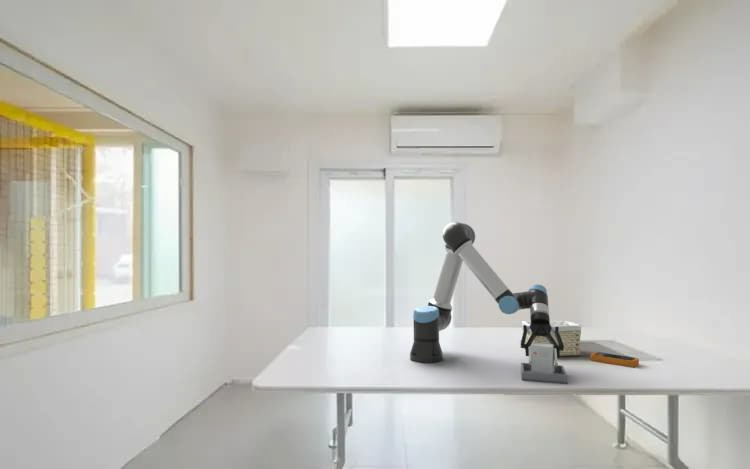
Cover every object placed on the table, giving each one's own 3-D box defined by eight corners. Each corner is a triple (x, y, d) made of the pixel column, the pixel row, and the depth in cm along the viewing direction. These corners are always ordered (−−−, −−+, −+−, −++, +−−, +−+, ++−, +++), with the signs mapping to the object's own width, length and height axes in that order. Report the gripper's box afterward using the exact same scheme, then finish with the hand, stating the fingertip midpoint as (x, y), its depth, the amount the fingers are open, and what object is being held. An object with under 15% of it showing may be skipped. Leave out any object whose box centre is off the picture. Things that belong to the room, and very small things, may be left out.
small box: (554, 371, 170) (554, 344, 170) (552, 374, 165) (552, 347, 166) (533, 368, 174) (533, 342, 174) (530, 371, 169) (530, 344, 170)
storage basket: (532, 357, 202) (531, 325, 203) (520, 349, 218) (520, 320, 219) (583, 357, 202) (582, 325, 203) (568, 349, 218) (567, 320, 219)
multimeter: (634, 369, 182) (634, 360, 182) (589, 361, 195) (589, 353, 195) (640, 365, 188) (640, 357, 188) (596, 358, 201) (596, 350, 201)
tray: (521, 380, 165) (521, 372, 165) (521, 370, 179) (520, 362, 179) (567, 383, 160) (567, 375, 160) (562, 373, 174) (562, 365, 174)
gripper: (566, 323, 182) (572, 371, 166) (513, 320, 188) (513, 367, 172) (568, 312, 177) (574, 360, 161) (513, 310, 183) (513, 356, 167)
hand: (543, 363), depth 167 cm, fingers closed on small box, 9 cm apart
